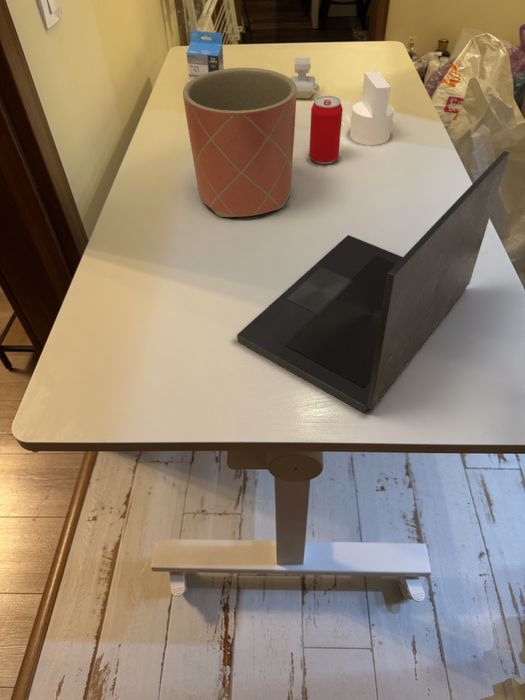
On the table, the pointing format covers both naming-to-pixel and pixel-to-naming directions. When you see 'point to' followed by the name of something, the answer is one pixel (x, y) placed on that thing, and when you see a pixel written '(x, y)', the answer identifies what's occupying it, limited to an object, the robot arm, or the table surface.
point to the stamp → (304, 78)
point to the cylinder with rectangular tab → (372, 112)
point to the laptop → (329, 321)
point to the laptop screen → (431, 278)
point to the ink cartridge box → (204, 53)
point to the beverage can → (325, 129)
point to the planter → (242, 139)
